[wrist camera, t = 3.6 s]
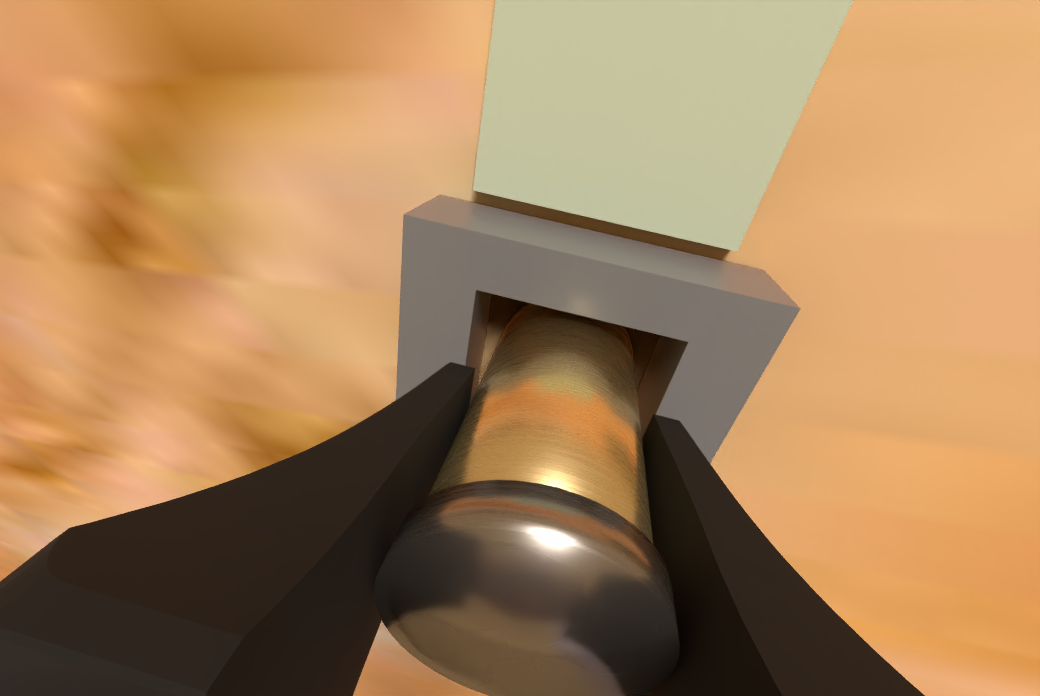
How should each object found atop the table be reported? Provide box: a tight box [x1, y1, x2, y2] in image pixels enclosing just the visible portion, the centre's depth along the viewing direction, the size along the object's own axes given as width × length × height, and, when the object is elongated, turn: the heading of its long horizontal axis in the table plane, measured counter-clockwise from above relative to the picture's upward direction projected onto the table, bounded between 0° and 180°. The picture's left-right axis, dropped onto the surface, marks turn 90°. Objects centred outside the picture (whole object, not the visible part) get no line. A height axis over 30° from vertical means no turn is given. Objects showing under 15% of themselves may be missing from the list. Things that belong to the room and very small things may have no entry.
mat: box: [473, 0, 853, 251], centre depth 10 cm, size 5×7×1 cm
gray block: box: [396, 195, 800, 463], centre depth 13 cm, size 8×9×2 cm
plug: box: [374, 303, 680, 696], centre depth 10 cm, size 4×4×8 cm
